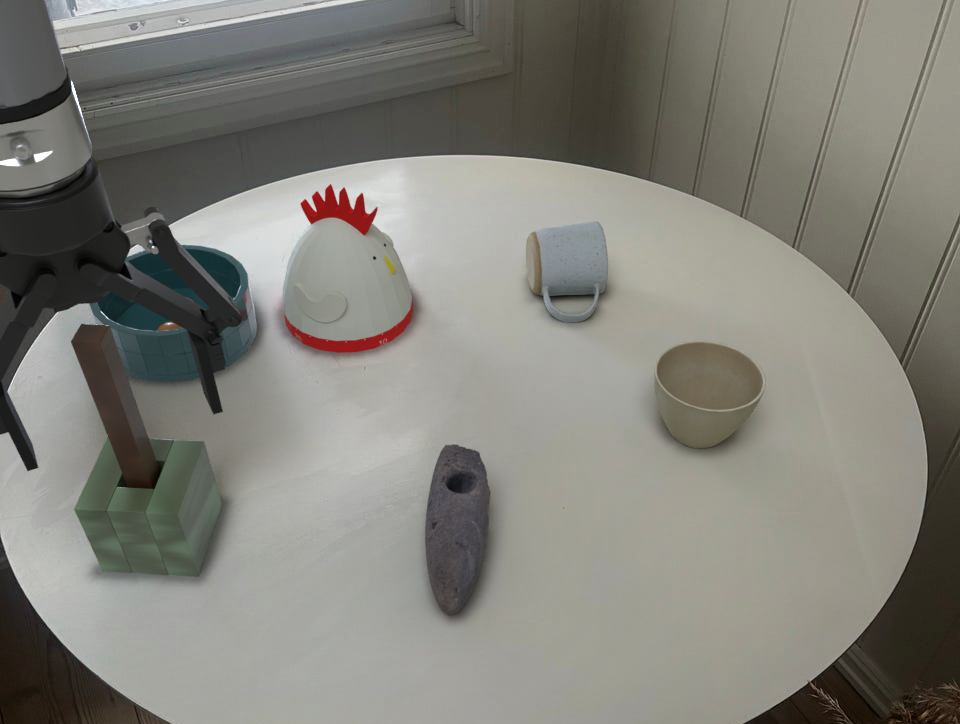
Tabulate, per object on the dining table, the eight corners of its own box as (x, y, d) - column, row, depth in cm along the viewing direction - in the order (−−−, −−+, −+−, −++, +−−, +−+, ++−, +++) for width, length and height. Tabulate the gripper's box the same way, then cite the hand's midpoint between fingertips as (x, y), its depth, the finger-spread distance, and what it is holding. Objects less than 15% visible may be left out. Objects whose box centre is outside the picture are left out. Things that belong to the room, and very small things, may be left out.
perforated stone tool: (479, 634, 73) (480, 581, 68) (412, 629, 73) (409, 575, 68) (493, 494, 83) (495, 438, 78) (435, 489, 83) (433, 434, 78)
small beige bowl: (753, 408, 91) (771, 351, 86) (741, 478, 85) (760, 421, 80) (653, 386, 93) (664, 330, 88) (634, 453, 87) (645, 396, 81)
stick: (150, 546, 78) (70, 341, 62) (157, 528, 80) (81, 323, 63) (173, 548, 78) (99, 343, 62) (180, 530, 79) (109, 324, 63)
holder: (103, 572, 76) (73, 509, 70) (133, 500, 82) (107, 436, 76) (199, 577, 76) (177, 514, 70) (222, 505, 82) (204, 440, 76)
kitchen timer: (379, 366, 95) (369, 238, 84) (261, 335, 98) (236, 208, 87) (431, 291, 104) (428, 167, 93) (321, 265, 107) (305, 142, 96)
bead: (151, 353, 94) (149, 331, 91) (164, 334, 96) (162, 312, 93) (180, 361, 94) (179, 339, 91) (192, 342, 96) (191, 320, 93)
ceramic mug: (521, 271, 107) (525, 212, 101) (590, 266, 107) (598, 208, 102) (538, 329, 100) (543, 269, 94) (612, 323, 100) (621, 264, 95)
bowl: (84, 379, 93) (65, 331, 88) (132, 288, 103) (118, 241, 99) (238, 386, 92) (227, 339, 88) (270, 294, 103) (262, 247, 98)
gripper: (-213, 251, 48) (-48, 518, 63) (254, 151, 56) (299, 410, 71) (-213, 184, 52) (-60, 448, 68) (219, 100, 60) (268, 354, 76)
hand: (124, 429), depth 69 cm, fingers open, 13 cm apart
